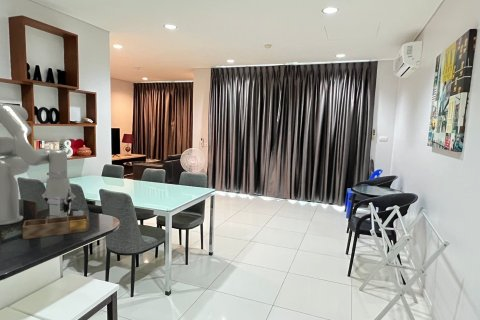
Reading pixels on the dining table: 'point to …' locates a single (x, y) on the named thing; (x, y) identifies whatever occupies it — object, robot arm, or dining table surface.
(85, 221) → the rack
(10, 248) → the dining table surface
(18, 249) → the dining table surface
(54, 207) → the syrup box
